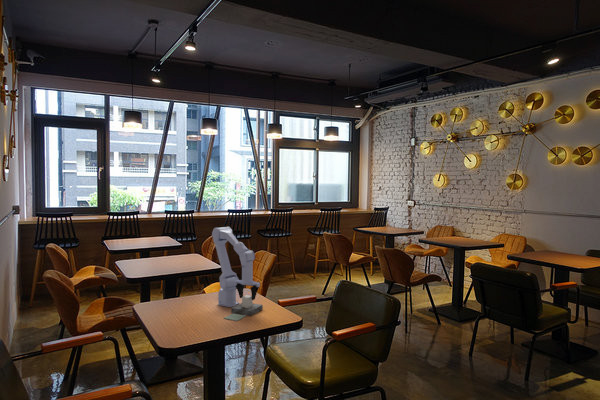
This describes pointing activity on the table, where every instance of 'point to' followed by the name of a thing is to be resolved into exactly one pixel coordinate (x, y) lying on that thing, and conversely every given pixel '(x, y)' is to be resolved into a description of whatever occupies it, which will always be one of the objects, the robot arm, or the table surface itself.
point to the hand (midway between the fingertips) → (247, 298)
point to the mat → (235, 317)
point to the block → (247, 301)
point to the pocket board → (247, 309)
